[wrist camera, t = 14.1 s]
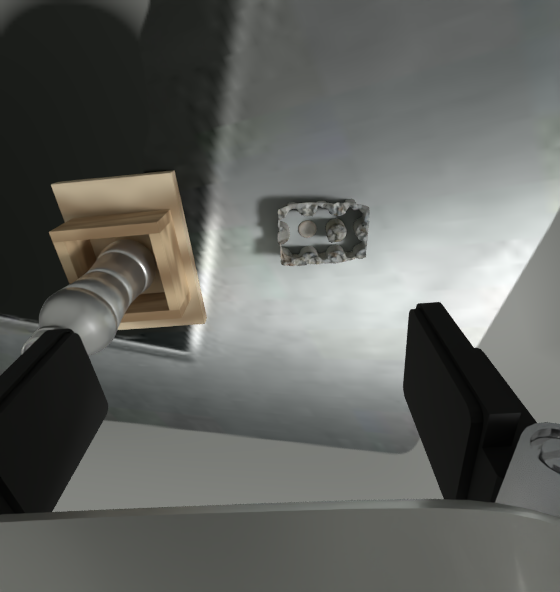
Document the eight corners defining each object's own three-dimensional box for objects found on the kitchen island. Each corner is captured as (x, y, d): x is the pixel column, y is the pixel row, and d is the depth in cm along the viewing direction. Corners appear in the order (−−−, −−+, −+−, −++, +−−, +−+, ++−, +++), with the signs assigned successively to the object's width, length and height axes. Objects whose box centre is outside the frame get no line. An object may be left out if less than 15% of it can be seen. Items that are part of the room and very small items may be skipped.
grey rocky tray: (278, 254, 48) (277, 267, 45) (278, 196, 45) (277, 204, 41) (361, 255, 48) (367, 268, 45) (367, 196, 45) (374, 205, 41)
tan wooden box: (57, 181, 44) (23, 195, 38) (174, 170, 43) (157, 182, 38) (110, 325, 54) (89, 352, 48) (206, 317, 53) (196, 345, 47)
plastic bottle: (135, 223, 45) (37, 307, 27) (172, 267, 48) (105, 369, 30) (97, 251, 47) (-18, 346, 29) (135, 291, 49) (51, 402, 32)
